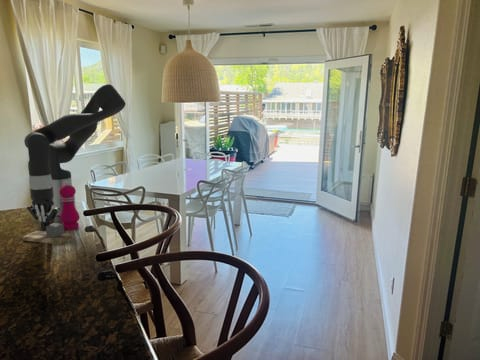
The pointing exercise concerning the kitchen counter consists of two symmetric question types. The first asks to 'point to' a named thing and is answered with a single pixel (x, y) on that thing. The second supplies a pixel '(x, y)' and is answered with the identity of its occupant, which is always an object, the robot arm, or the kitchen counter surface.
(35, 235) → the selector board
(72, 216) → the pepper mill
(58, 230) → the selector knob
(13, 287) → the kitchen counter surface
